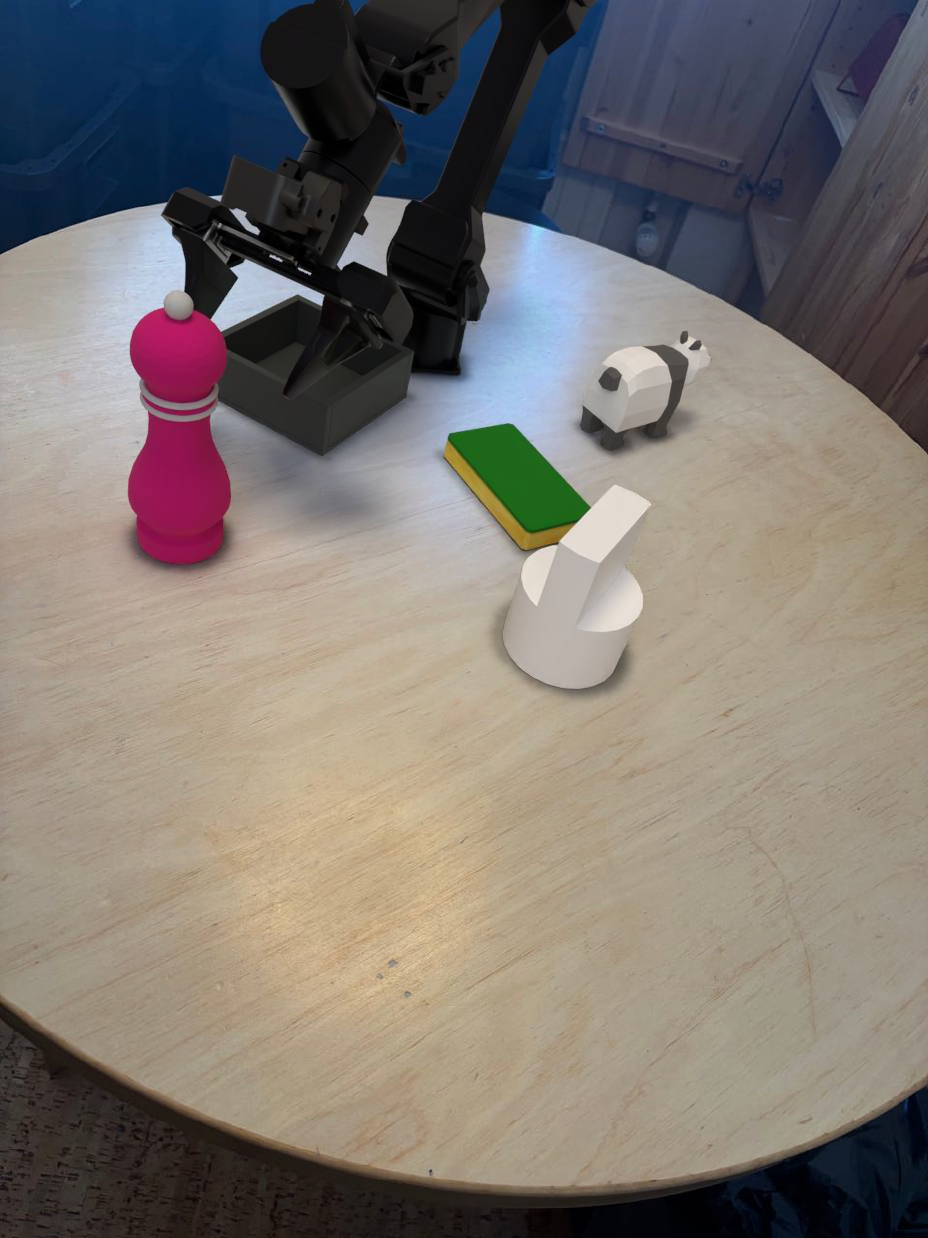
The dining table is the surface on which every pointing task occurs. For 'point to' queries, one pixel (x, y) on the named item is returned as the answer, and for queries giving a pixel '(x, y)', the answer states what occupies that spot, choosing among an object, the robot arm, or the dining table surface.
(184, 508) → the pepper mill
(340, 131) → the robot arm
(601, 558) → the base with upright slab
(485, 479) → the dish sponge
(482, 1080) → the dining table surface
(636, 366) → the giant panda
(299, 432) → the open rectangular box
